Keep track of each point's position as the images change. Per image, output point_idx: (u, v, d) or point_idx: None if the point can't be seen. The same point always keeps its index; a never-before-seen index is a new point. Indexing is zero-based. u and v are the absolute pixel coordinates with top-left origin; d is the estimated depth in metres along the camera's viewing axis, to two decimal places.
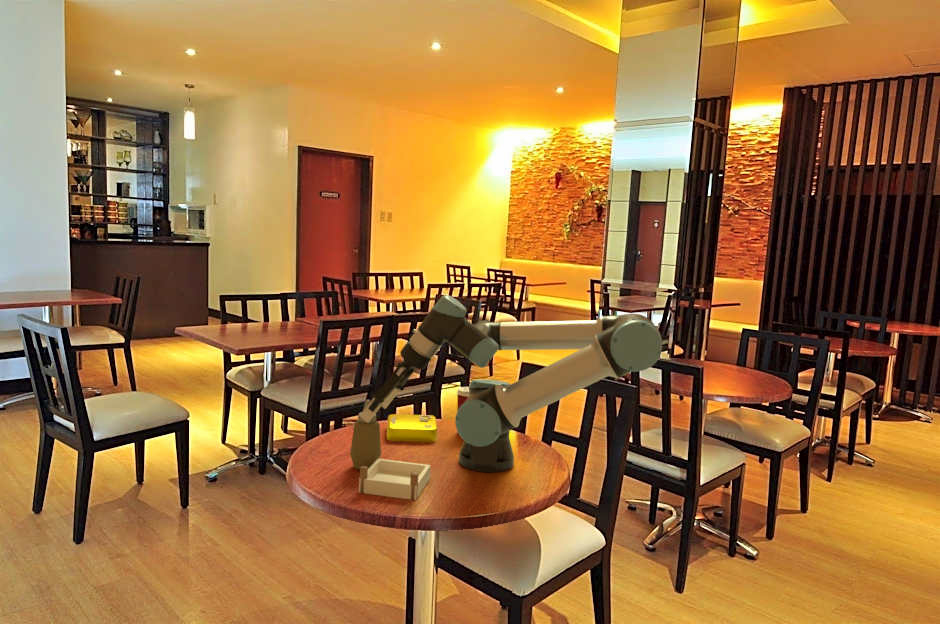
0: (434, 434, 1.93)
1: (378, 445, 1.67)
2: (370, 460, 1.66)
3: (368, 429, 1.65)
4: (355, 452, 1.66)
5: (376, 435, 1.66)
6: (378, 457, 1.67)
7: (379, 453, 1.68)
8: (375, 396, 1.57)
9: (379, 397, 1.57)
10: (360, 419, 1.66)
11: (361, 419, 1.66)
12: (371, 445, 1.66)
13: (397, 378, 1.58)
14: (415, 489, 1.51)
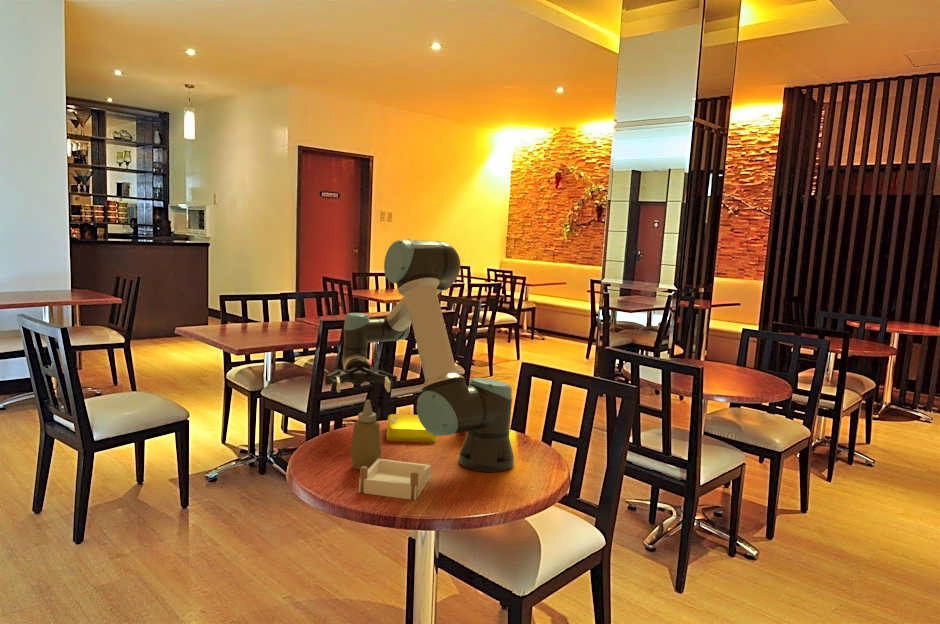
0: None
1: (378, 445, 1.67)
2: (370, 460, 1.66)
3: (368, 429, 1.65)
4: (355, 452, 1.66)
5: (376, 435, 1.66)
6: (378, 457, 1.67)
7: (379, 453, 1.68)
8: (325, 382, 1.81)
9: None
10: (360, 419, 1.66)
11: (361, 419, 1.66)
12: (371, 445, 1.66)
13: None
14: (415, 489, 1.51)
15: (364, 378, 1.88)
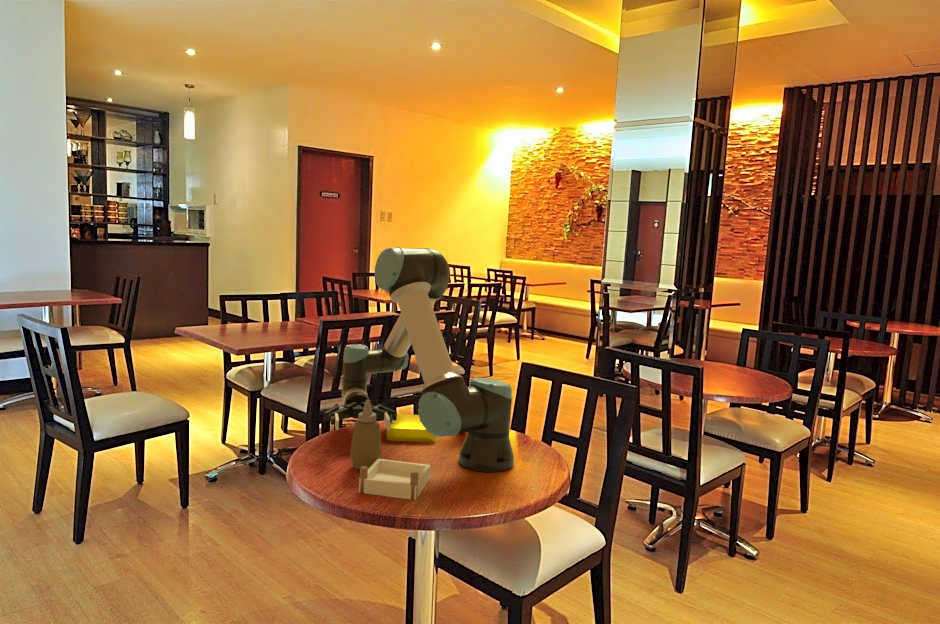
0: None
1: (378, 445, 1.67)
2: (370, 460, 1.66)
3: (368, 429, 1.65)
4: (355, 452, 1.66)
5: (376, 435, 1.66)
6: (378, 457, 1.67)
7: (379, 453, 1.68)
8: None
9: None
10: (360, 419, 1.66)
11: (361, 419, 1.66)
12: (371, 445, 1.66)
13: None
14: (415, 489, 1.51)
15: None
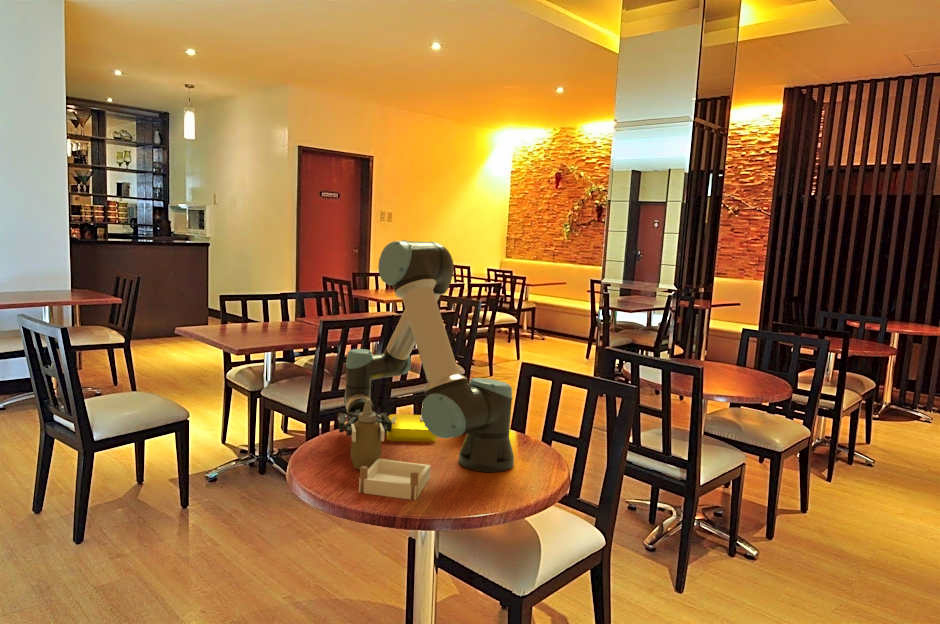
0: (434, 434, 1.93)
1: (378, 445, 1.67)
2: (370, 460, 1.66)
3: (368, 429, 1.65)
4: (355, 452, 1.66)
5: (376, 435, 1.66)
6: (378, 457, 1.67)
7: (379, 453, 1.68)
8: (339, 430, 1.69)
9: None
10: (360, 419, 1.66)
11: (361, 419, 1.66)
12: (371, 445, 1.66)
13: (340, 417, 1.75)
14: (415, 489, 1.51)
15: None
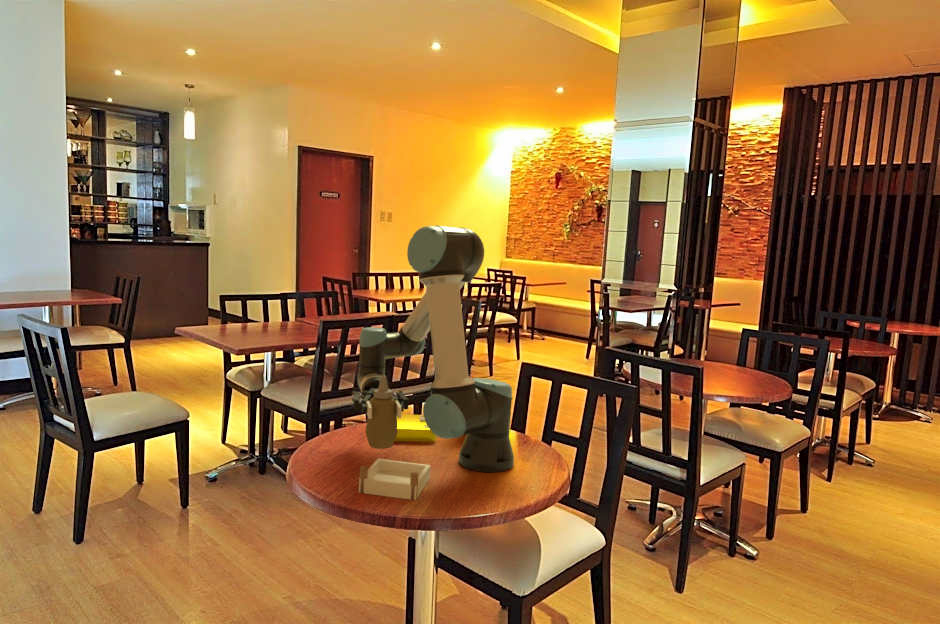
0: (434, 434, 1.93)
1: (394, 423, 1.61)
2: (387, 438, 1.59)
3: (384, 405, 1.58)
4: (371, 430, 1.59)
5: (392, 412, 1.60)
6: (394, 435, 1.60)
7: (395, 431, 1.61)
8: (354, 407, 1.62)
9: None
10: (376, 395, 1.59)
11: (377, 395, 1.59)
12: (388, 423, 1.59)
13: None
14: (415, 489, 1.51)
15: None
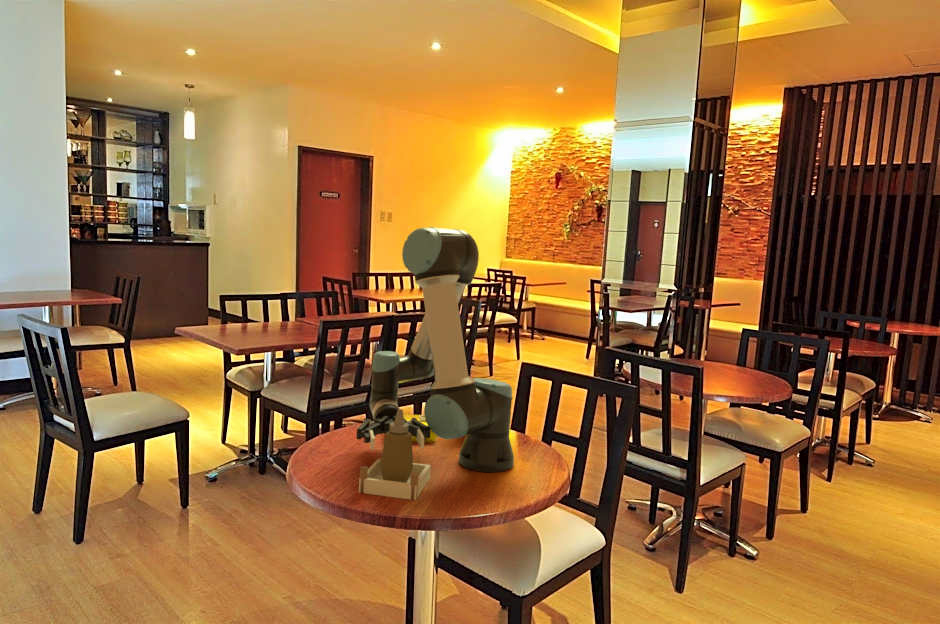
0: (434, 434, 1.93)
1: (410, 458, 1.57)
2: (402, 474, 1.55)
3: (401, 440, 1.54)
4: (386, 465, 1.55)
5: (408, 447, 1.56)
6: (410, 470, 1.56)
7: (411, 466, 1.57)
8: None
9: None
10: (392, 430, 1.55)
11: (393, 430, 1.55)
12: (404, 458, 1.55)
13: None
14: (415, 489, 1.51)
15: None
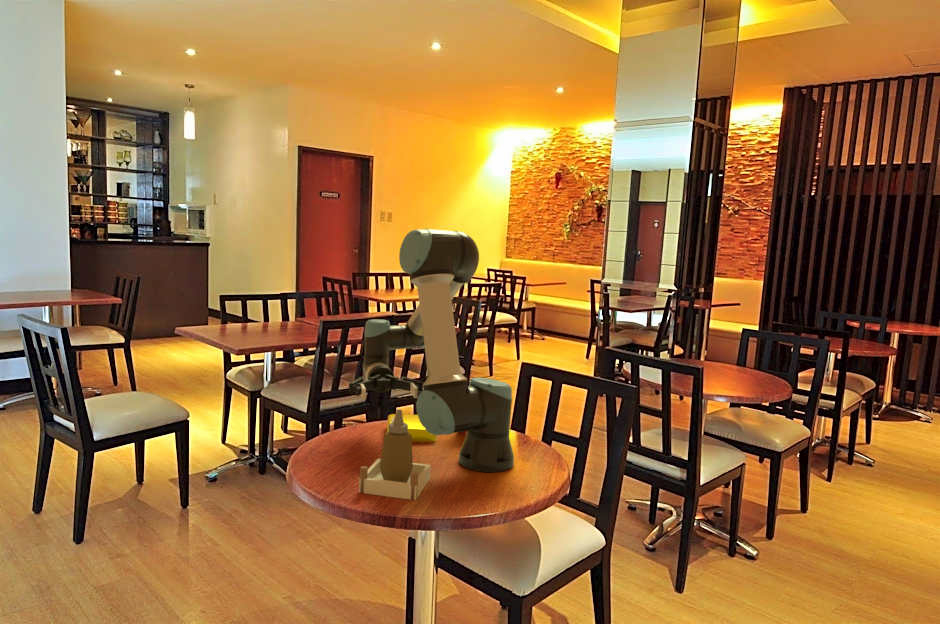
0: None
1: (410, 458, 1.57)
2: (402, 474, 1.55)
3: (400, 440, 1.54)
4: (385, 466, 1.55)
5: (408, 447, 1.56)
6: (409, 470, 1.56)
7: (411, 466, 1.57)
8: (349, 390, 1.74)
9: None
10: (391, 430, 1.55)
11: (392, 430, 1.55)
12: (403, 458, 1.55)
13: None
14: (415, 489, 1.51)
15: (388, 385, 1.81)
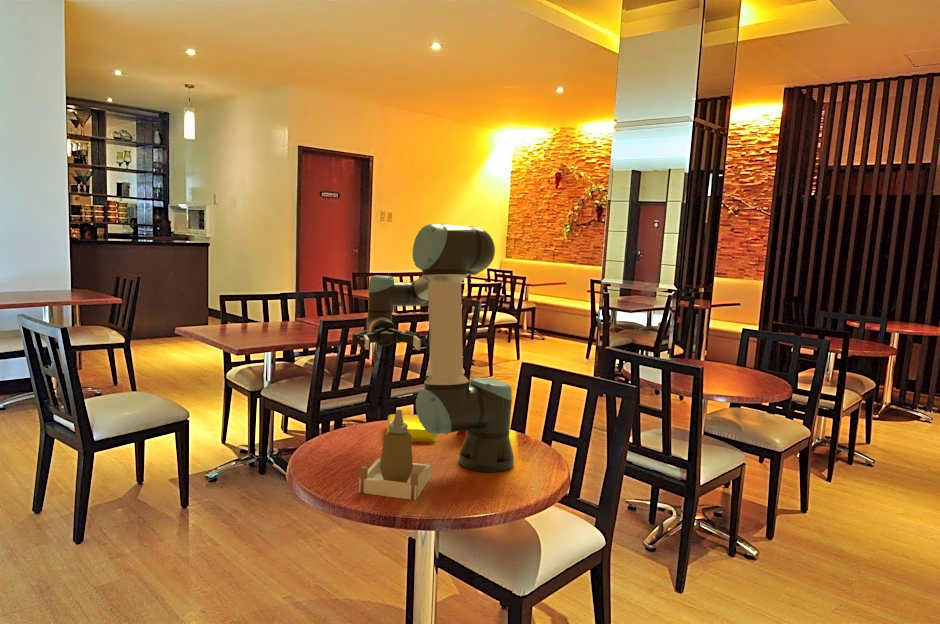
0: (434, 434, 1.93)
1: (410, 458, 1.57)
2: (402, 474, 1.55)
3: (400, 440, 1.54)
4: (385, 466, 1.55)
5: (407, 447, 1.56)
6: (409, 470, 1.56)
7: (411, 466, 1.57)
8: (352, 341, 1.76)
9: None
10: (391, 430, 1.55)
11: (392, 430, 1.55)
12: (403, 458, 1.55)
13: None
14: (415, 489, 1.51)
15: (391, 338, 1.82)
